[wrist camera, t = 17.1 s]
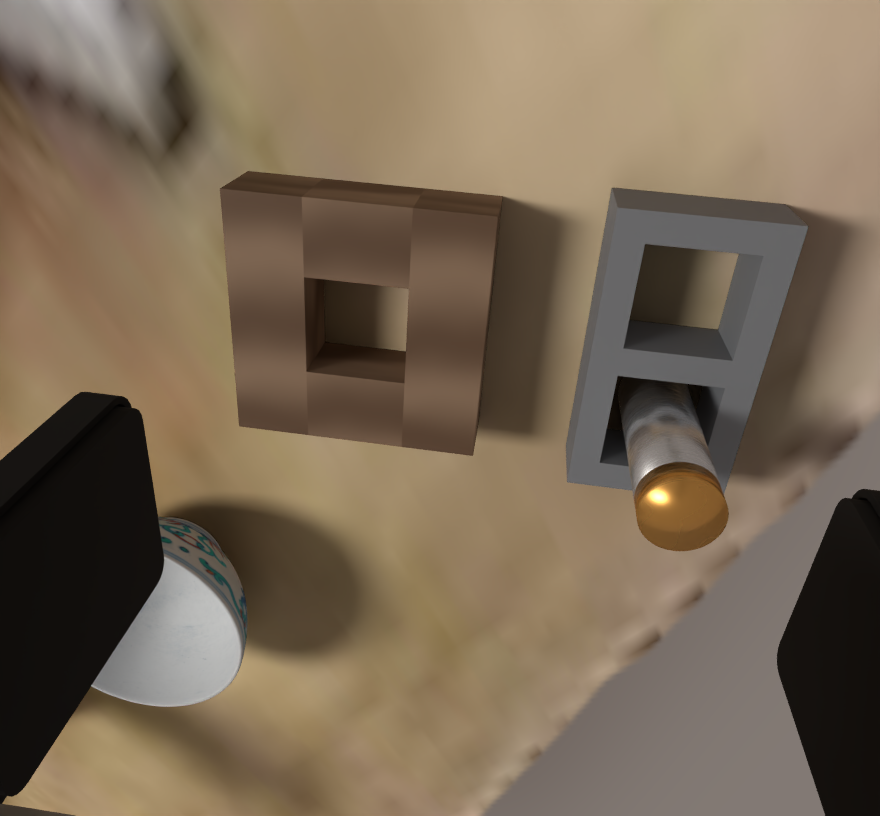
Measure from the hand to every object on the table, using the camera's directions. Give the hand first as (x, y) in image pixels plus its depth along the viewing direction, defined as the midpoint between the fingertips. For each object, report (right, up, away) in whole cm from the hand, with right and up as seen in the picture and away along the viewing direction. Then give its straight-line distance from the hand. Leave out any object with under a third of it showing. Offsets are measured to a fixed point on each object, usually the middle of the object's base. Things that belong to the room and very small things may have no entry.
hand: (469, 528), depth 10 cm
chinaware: (-20, -9, +46) cm, 51 cm away
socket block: (-4, +8, +34) cm, 35 cm away
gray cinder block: (+12, +6, +32) cm, 35 cm away
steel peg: (+12, +3, +34) cm, 36 cm away
